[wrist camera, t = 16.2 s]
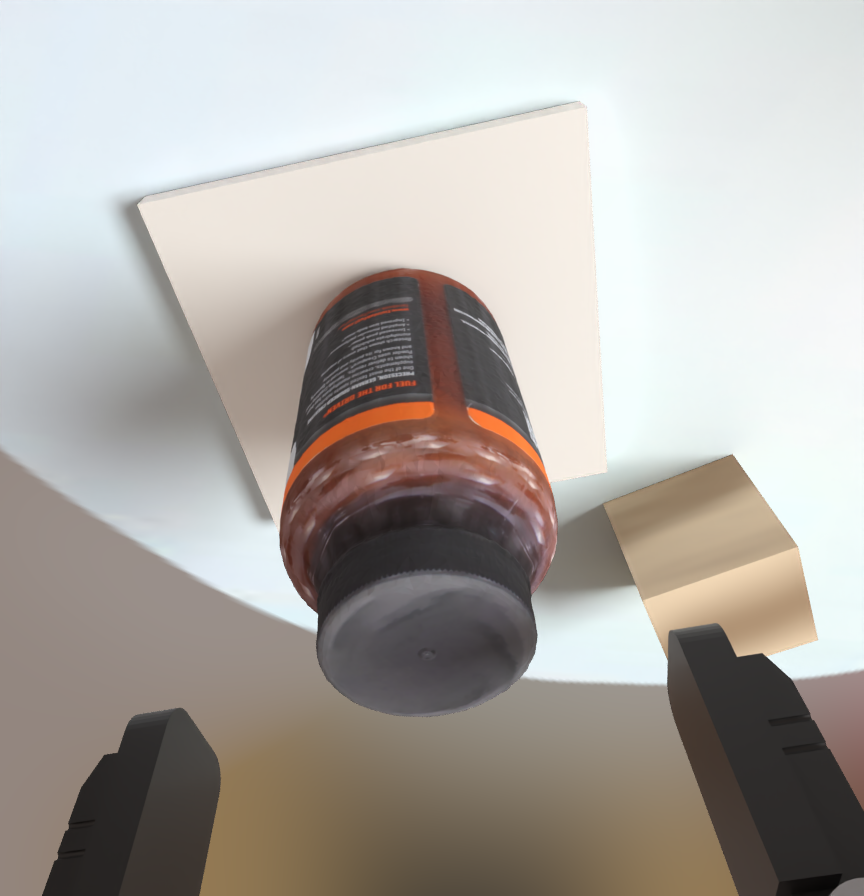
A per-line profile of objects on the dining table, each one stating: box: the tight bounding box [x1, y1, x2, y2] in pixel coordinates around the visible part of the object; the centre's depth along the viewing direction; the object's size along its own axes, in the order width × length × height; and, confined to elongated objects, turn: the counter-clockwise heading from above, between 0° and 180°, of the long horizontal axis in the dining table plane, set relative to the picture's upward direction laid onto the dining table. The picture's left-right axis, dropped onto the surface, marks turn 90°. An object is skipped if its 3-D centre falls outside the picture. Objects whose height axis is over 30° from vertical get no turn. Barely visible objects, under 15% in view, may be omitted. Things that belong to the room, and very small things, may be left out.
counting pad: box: [137, 101, 607, 533], centre depth 22 cm, size 12×12×1 cm
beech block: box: [603, 454, 818, 660], centre depth 26 cm, size 5×5×5 cm
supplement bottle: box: [279, 268, 558, 717], centre depth 17 cm, size 6×6×11 cm
